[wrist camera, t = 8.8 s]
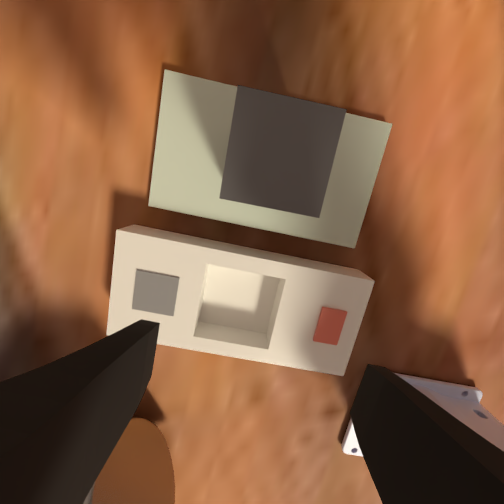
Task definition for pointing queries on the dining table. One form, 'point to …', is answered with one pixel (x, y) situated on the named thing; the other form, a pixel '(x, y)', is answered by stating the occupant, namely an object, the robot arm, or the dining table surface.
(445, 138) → the dining table surface
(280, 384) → the dining table surface
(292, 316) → the socket strip
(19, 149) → the dining table surface
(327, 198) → the sage mat
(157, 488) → the muzzle brake
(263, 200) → the block
